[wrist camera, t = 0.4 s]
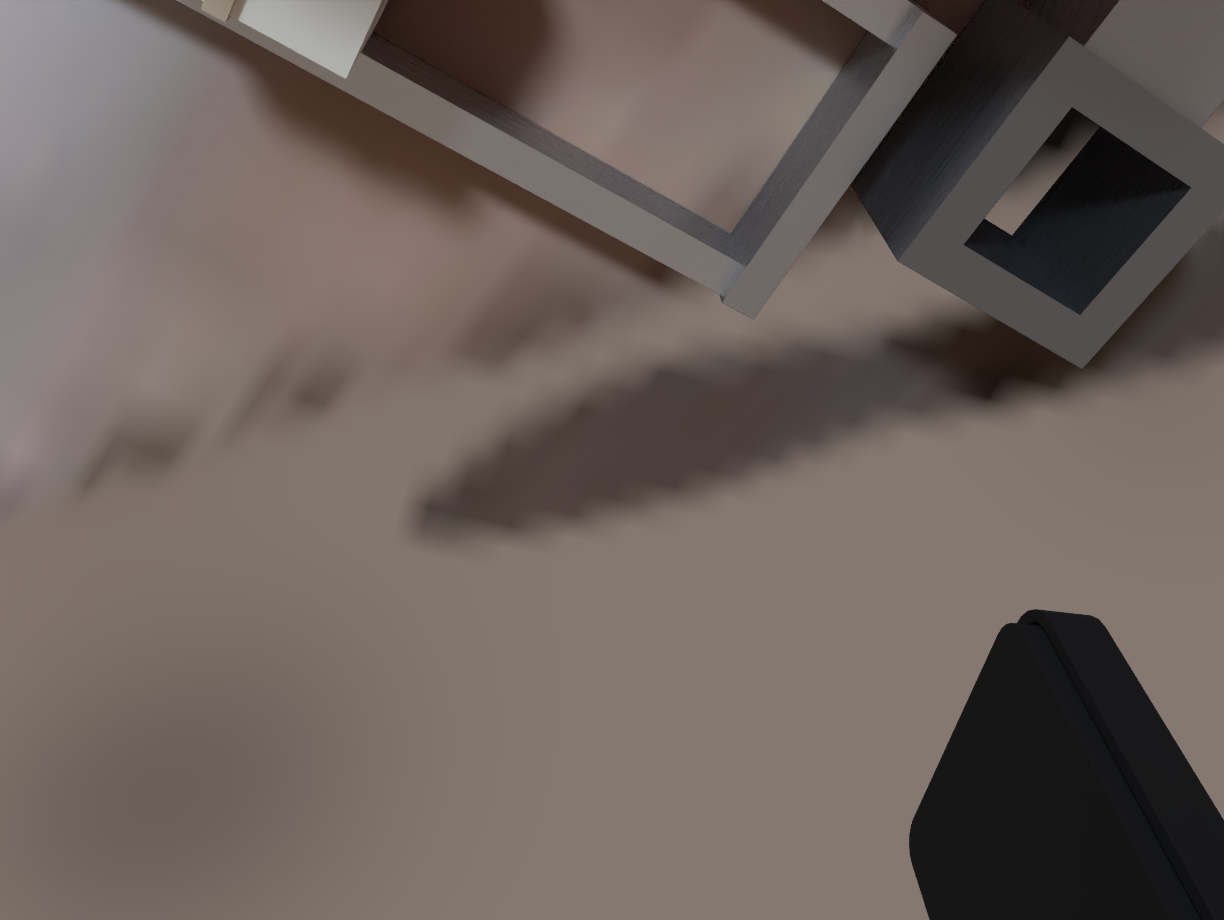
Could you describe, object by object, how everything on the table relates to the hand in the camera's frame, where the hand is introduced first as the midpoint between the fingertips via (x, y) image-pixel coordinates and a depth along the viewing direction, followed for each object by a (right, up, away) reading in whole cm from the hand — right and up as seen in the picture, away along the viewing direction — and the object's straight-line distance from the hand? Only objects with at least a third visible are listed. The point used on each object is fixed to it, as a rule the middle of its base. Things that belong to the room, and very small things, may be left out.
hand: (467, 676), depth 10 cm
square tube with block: (+15, +14, +26) cm, 33 cm away
